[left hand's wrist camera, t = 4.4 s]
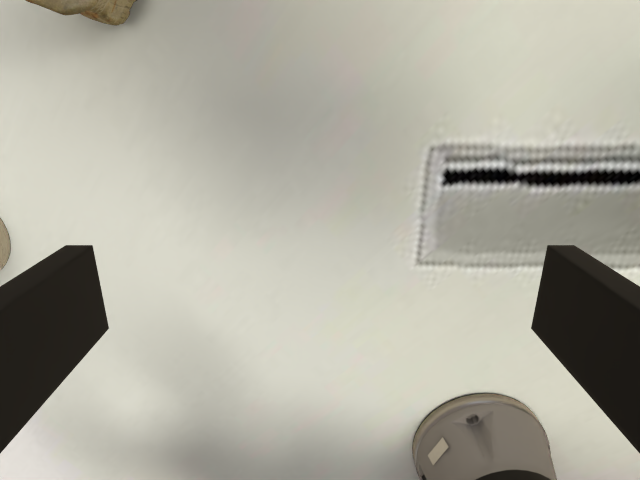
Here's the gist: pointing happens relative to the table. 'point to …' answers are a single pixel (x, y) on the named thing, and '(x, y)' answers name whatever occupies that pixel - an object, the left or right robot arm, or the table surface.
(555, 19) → the table surface
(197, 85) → the table surface
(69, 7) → the sculpture
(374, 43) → the table surface
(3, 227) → the jar
